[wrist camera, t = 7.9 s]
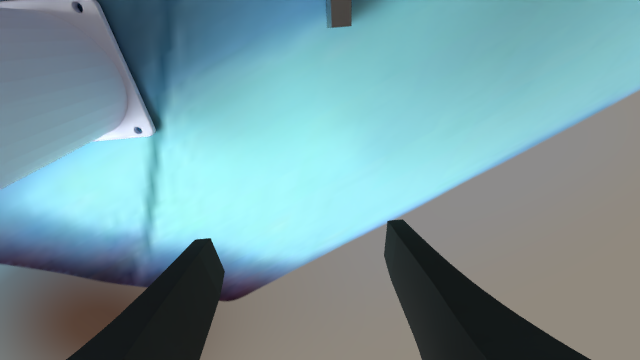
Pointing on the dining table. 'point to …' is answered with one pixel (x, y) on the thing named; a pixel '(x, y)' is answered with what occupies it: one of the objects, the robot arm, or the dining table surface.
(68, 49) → the robot arm
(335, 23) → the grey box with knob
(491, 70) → the dining table surface
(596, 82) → the dining table surface
